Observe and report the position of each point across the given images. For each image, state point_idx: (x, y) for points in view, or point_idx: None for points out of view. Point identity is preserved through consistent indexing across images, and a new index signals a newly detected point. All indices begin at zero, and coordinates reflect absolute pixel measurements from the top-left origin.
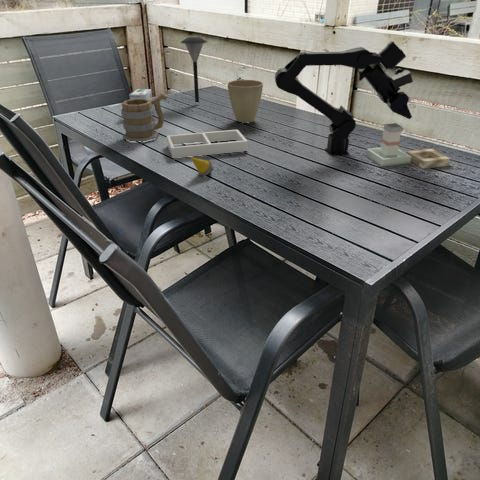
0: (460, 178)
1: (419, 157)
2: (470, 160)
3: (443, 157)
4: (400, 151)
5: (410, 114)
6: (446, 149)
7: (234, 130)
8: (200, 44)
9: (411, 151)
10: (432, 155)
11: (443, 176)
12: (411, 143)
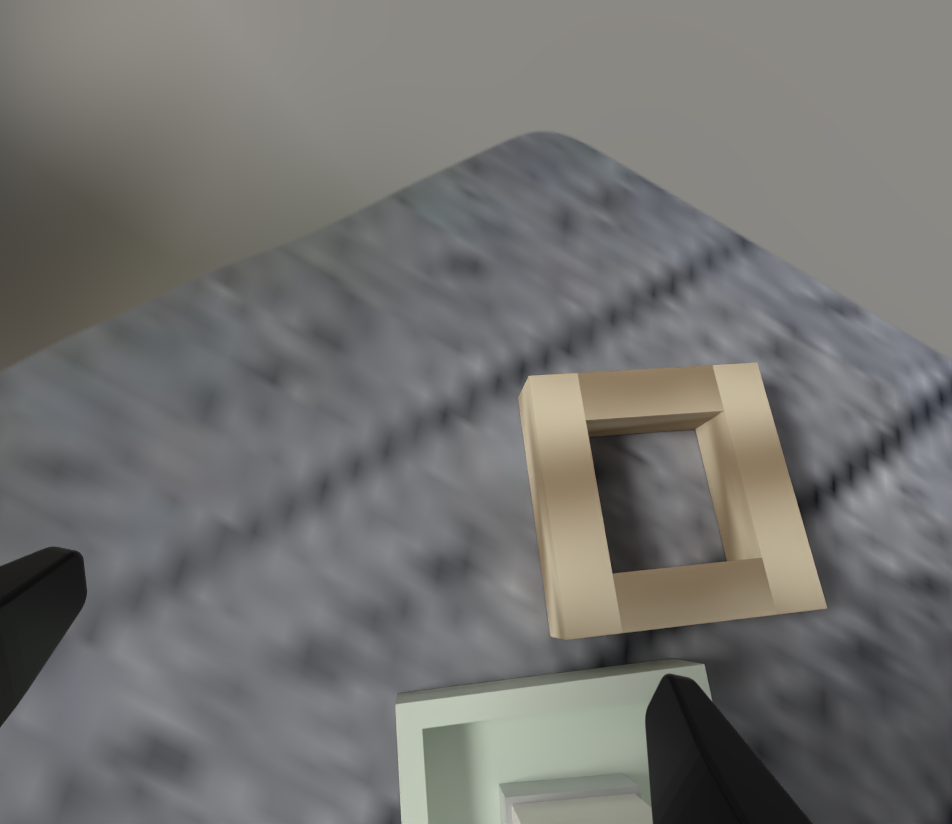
0: (943, 437)
1: (731, 599)
2: (640, 202)
3: (734, 398)
4: (560, 709)
5: (750, 758)
6: (415, 219)
7: None
8: None
9: (574, 593)
10: (615, 425)
11: (921, 530)
12: (208, 390)
